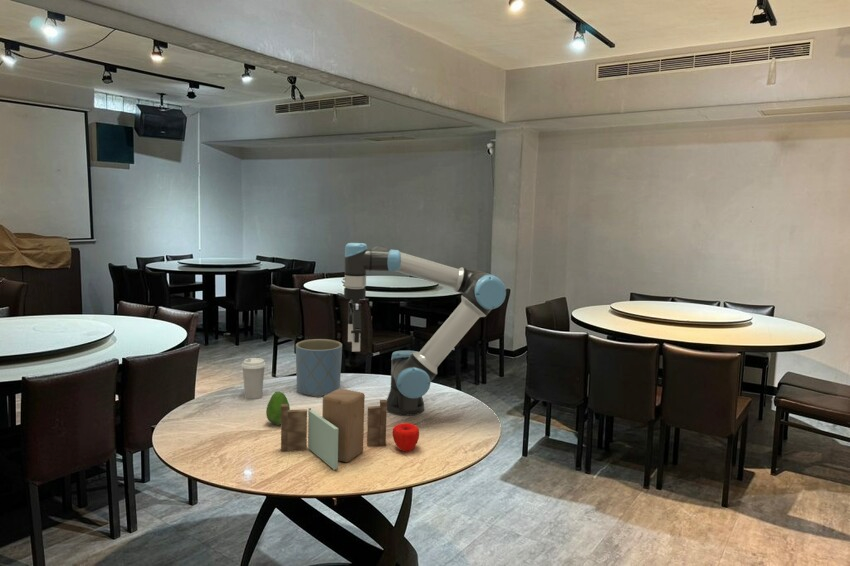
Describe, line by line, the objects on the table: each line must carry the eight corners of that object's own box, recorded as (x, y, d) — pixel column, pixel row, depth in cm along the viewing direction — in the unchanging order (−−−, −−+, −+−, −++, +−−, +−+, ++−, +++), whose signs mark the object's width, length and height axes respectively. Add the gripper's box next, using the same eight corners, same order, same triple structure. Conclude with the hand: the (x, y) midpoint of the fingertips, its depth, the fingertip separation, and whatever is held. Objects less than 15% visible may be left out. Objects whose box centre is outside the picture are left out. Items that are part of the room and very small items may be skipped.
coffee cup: (247, 391, 237) (247, 356, 235) (269, 393, 236) (269, 358, 234) (236, 399, 228) (236, 362, 226) (259, 401, 227) (259, 364, 225)
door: (337, 468, 172) (338, 427, 170) (334, 469, 171) (334, 428, 169) (310, 446, 187) (311, 407, 185) (307, 447, 186) (307, 408, 184)
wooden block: (347, 464, 176) (348, 401, 174) (320, 456, 181) (321, 395, 178) (364, 452, 185) (366, 392, 183) (338, 445, 190) (339, 386, 187)
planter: (319, 401, 230) (320, 352, 227) (285, 391, 240) (285, 344, 237) (350, 389, 246) (351, 343, 243) (317, 380, 256) (318, 336, 253)
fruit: (272, 418, 210) (272, 386, 208) (293, 421, 209) (293, 389, 207) (262, 426, 202) (262, 393, 201) (283, 429, 201) (283, 396, 199)
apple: (393, 442, 194) (393, 420, 192) (419, 443, 193) (420, 421, 192) (390, 454, 185) (391, 430, 184) (418, 455, 184) (419, 432, 183)
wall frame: (384, 442, 193) (385, 399, 191) (385, 445, 191) (387, 402, 189) (281, 448, 185) (281, 403, 183) (280, 451, 183) (281, 406, 181)
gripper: (340, 282, 213) (339, 338, 216) (348, 292, 189) (346, 355, 192) (361, 282, 214) (359, 337, 217) (370, 292, 190) (369, 355, 193)
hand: (353, 346), depth 205 cm, fingers open, 13 cm apart
